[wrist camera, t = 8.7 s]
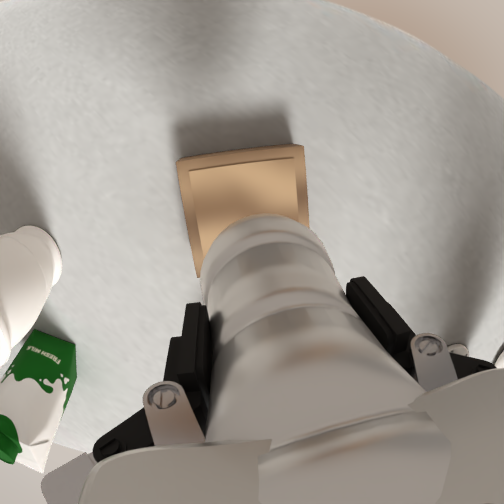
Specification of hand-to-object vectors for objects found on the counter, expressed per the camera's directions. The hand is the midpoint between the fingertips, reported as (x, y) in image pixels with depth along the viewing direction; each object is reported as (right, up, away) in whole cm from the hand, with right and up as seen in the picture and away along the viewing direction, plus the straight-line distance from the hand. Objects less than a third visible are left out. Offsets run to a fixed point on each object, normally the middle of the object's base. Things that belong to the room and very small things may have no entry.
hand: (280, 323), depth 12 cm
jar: (-27, +2, +19) cm, 33 cm away
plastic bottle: (-1, +3, +6) cm, 7 cm away
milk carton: (-30, -12, +24) cm, 40 cm away
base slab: (-2, +8, +19) cm, 20 cm away
